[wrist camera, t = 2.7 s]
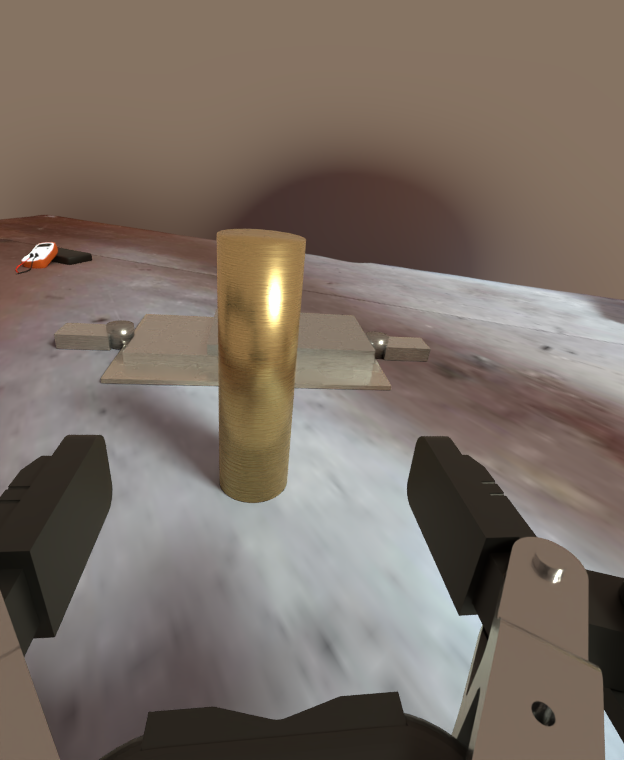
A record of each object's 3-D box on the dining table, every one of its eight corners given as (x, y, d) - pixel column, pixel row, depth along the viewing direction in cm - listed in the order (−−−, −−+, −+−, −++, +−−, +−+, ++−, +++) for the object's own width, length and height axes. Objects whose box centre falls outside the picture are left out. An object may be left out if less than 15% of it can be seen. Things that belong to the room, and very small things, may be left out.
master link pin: (205, 487, 25) (198, 234, 18) (242, 451, 28) (246, 226, 22) (266, 512, 23) (281, 248, 17) (297, 470, 27) (319, 237, 21)
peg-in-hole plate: (22, 381, 34) (15, 353, 33) (91, 315, 48) (88, 293, 47) (452, 391, 39) (459, 367, 38) (400, 328, 53) (404, 310, 52)
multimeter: (-1, 290, 54) (-7, 263, 52) (-60, 274, 58) (-67, 247, 56) (115, 268, 69) (112, 246, 67) (61, 256, 73) (58, 235, 71)
